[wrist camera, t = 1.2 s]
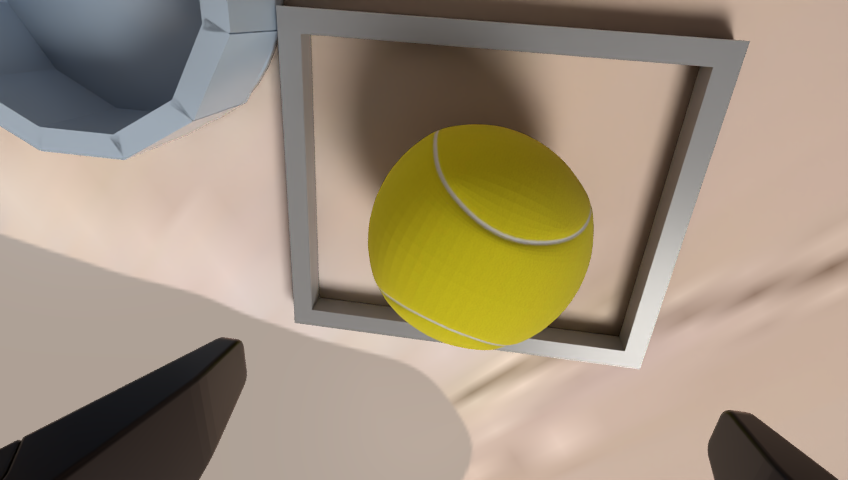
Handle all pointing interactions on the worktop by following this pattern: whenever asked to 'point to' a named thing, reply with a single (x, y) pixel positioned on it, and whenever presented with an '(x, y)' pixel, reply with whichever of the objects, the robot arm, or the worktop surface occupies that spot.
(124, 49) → the bowl
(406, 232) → the tennis ball
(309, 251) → the grey square frame
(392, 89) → the worktop surface
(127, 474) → the robot arm
